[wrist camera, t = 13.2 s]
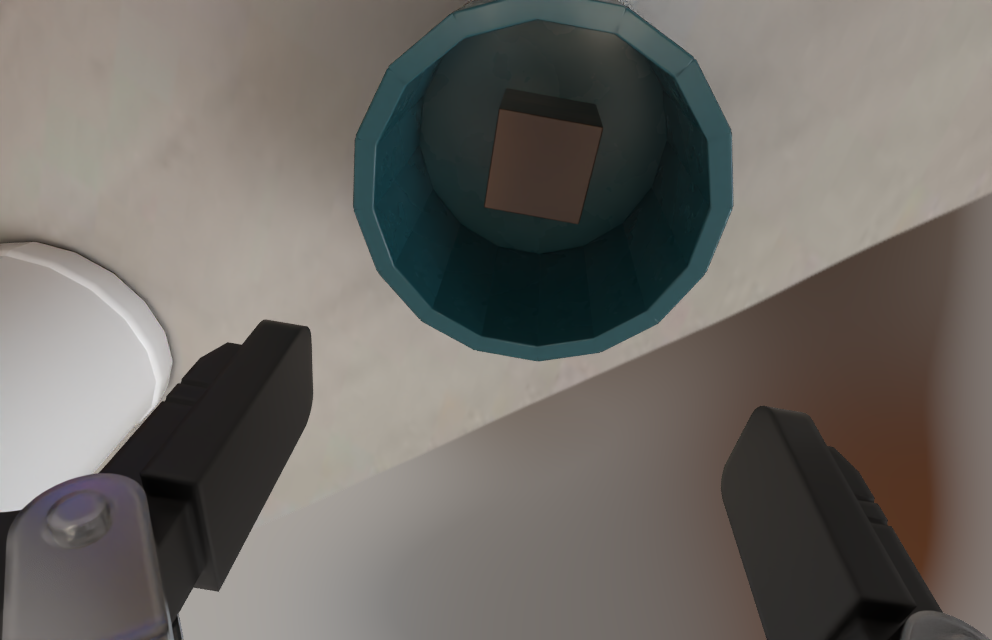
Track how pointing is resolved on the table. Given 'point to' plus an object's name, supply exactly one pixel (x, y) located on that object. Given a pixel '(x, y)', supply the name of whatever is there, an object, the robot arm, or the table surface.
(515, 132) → the block
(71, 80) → the table surface
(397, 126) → the tin
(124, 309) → the bottle
